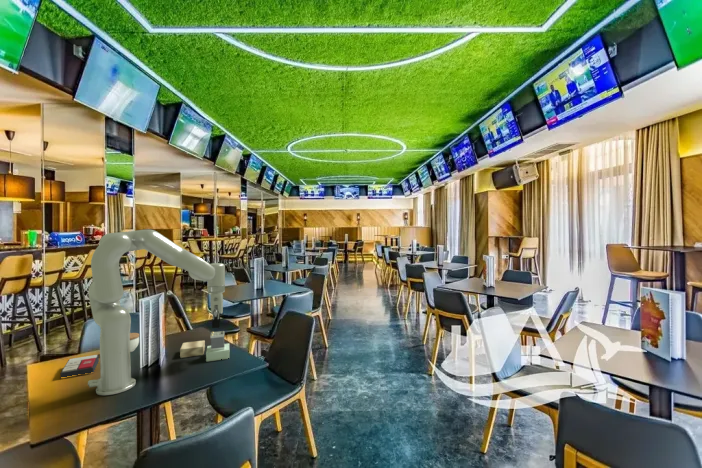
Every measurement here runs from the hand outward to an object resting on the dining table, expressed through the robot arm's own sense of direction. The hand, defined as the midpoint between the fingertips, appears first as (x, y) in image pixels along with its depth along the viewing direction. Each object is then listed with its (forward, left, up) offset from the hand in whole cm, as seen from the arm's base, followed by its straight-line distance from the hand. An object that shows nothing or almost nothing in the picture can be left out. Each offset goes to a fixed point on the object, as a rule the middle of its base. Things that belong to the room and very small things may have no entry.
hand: (216, 325), depth 160 cm
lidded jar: (-43, +26, -15) cm, 53 cm away
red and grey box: (-56, +7, -16) cm, 59 cm away
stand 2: (+1, 0, -15) cm, 15 cm away
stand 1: (-11, +10, -15) cm, 22 cm away
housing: (0, 0, -11) cm, 11 cm away
